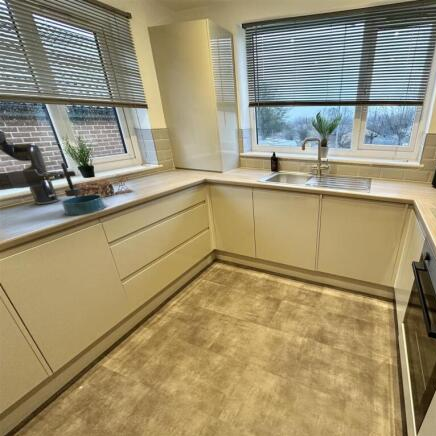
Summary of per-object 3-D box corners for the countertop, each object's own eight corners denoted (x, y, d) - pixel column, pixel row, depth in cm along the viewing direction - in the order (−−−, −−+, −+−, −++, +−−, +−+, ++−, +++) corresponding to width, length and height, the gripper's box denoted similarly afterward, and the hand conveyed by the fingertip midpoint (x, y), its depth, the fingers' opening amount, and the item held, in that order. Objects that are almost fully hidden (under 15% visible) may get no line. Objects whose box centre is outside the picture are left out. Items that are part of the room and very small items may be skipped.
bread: (78, 202, 140) (72, 185, 136) (75, 199, 146) (69, 183, 142) (116, 195, 153) (111, 179, 149) (111, 192, 159) (106, 177, 155)
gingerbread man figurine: (116, 194, 154) (111, 176, 150) (115, 193, 157) (110, 175, 152) (132, 191, 160) (127, 173, 155) (131, 190, 162) (126, 173, 158)
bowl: (57, 214, 121) (52, 203, 118) (86, 204, 136) (83, 194, 133) (85, 215, 119) (81, 204, 116) (112, 205, 134) (108, 195, 131)
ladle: (63, 196, 119) (50, 163, 113) (74, 193, 124) (63, 161, 118) (73, 196, 118) (61, 163, 112) (85, 193, 123) (74, 161, 118)
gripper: (21, 172, 102) (73, 167, 113) (21, 168, 111) (70, 164, 122) (28, 189, 105) (79, 182, 116) (28, 184, 114) (75, 178, 125)
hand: (74, 173), depth 119 cm, fingers closed on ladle
